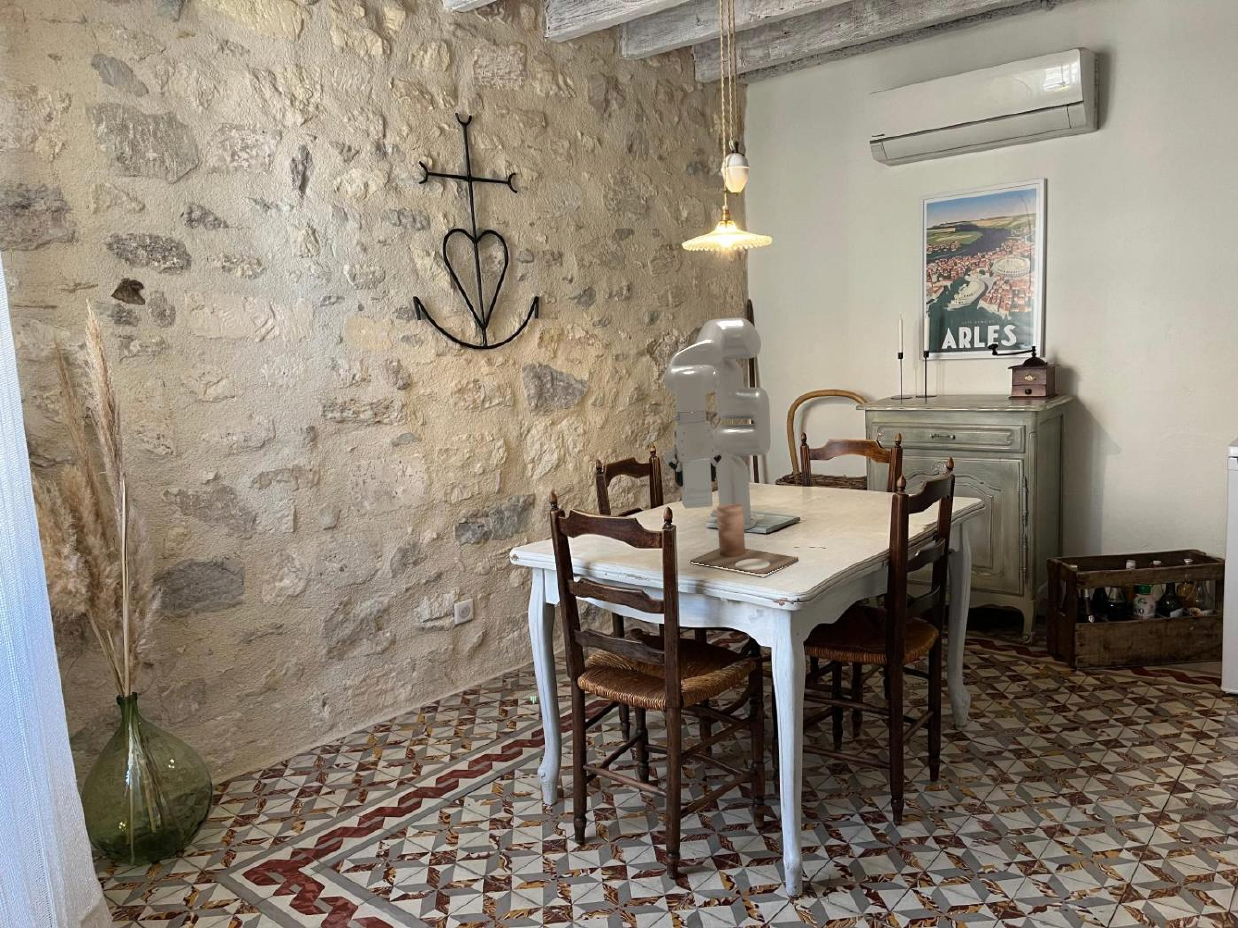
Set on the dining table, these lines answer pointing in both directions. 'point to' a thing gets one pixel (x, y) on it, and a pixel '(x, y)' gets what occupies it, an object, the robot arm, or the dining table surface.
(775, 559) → the board
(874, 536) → the dining table surface
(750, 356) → the robot arm
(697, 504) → the supplement box
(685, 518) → the dining table surface
